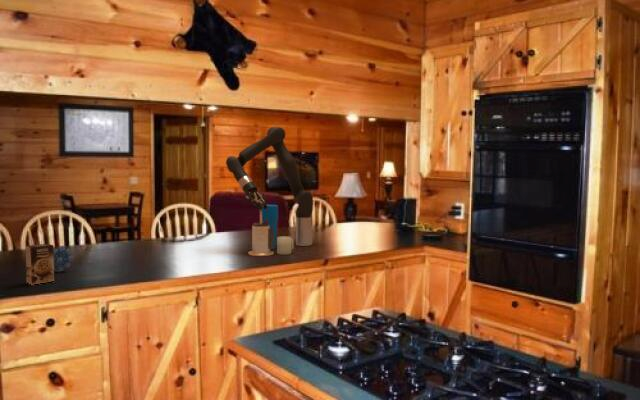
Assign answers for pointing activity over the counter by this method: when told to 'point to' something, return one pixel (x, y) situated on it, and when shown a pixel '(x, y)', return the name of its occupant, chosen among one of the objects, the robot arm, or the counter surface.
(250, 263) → the counter surface
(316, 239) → the counter surface
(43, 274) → the coffee box
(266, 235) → the beige cylinder with base
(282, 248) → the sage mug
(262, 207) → the plunger
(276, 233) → the blue tapered block
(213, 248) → the counter surface
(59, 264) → the grapes
